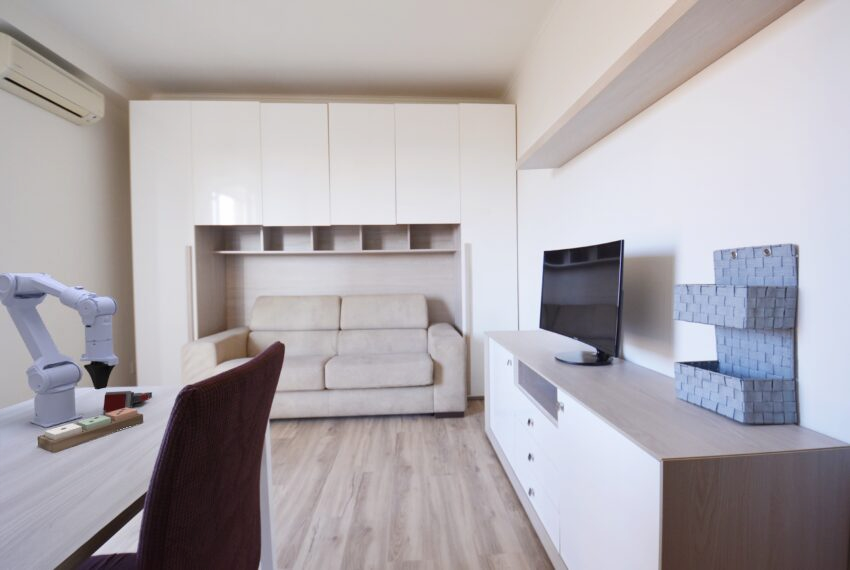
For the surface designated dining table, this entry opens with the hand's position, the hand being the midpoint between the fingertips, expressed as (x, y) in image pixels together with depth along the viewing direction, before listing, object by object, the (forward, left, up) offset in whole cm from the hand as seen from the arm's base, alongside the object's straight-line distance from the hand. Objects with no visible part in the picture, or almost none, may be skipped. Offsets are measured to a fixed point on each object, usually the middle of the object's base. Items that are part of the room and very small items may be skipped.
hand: (100, 388), depth 101 cm
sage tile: (+6, -5, -10) cm, 12 cm away
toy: (-9, +11, -10) cm, 18 cm away
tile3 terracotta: (+6, +1, -10) cm, 12 cm away
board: (+7, -5, -10) cm, 13 cm away
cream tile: (+7, -10, -10) cm, 16 cm away
